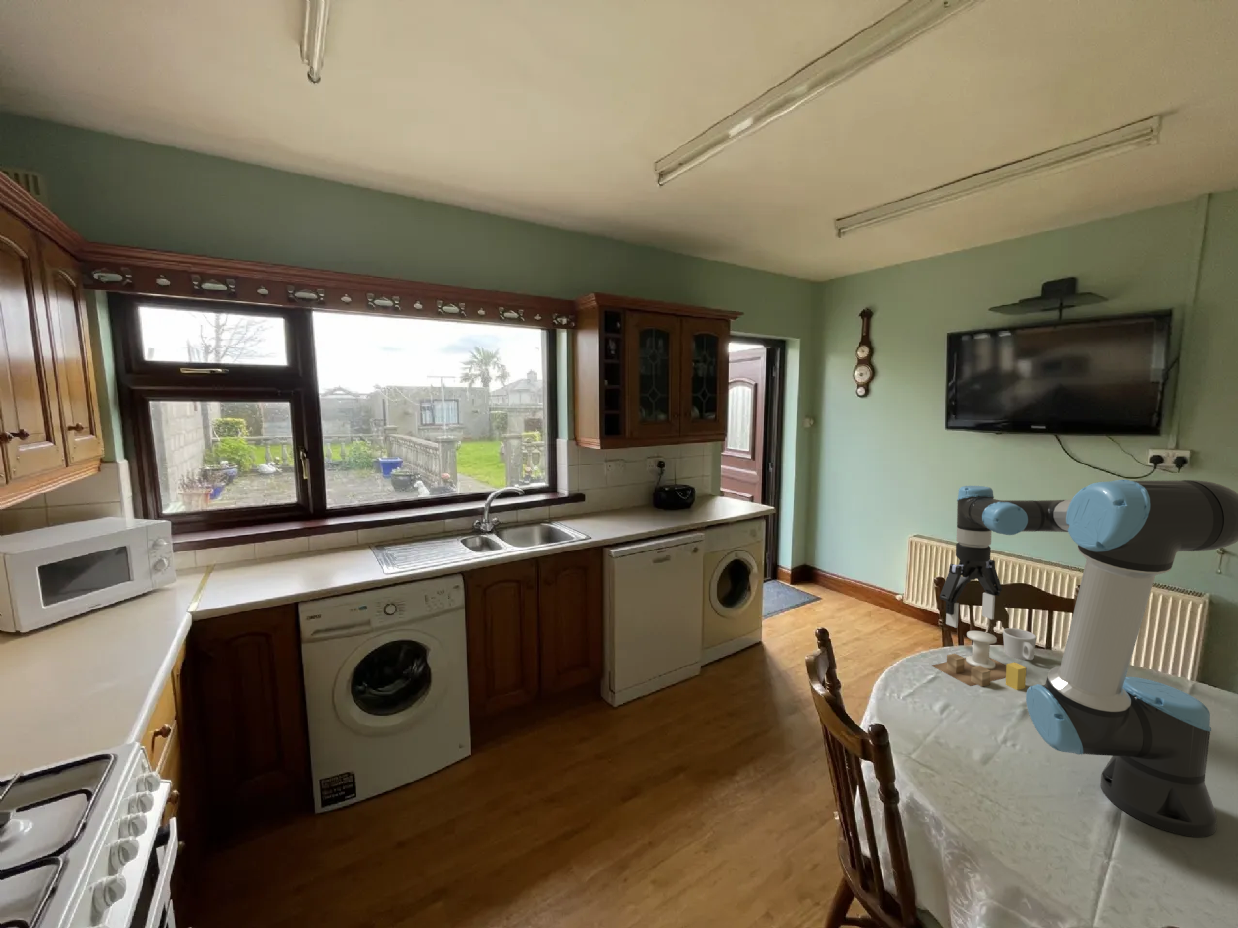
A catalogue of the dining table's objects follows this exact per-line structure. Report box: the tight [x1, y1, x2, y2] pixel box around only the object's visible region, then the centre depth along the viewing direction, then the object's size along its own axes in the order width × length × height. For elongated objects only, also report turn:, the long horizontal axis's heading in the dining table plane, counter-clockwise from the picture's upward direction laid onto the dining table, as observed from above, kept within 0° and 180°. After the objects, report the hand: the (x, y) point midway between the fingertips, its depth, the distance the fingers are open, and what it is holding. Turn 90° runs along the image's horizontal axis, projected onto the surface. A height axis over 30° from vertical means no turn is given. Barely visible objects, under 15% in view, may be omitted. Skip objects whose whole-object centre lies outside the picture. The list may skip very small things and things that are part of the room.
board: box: [931, 653, 1007, 688], centre depth 145 cm, size 13×20×5 cm, turn 107°
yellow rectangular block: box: [1005, 662, 1027, 691], centre depth 136 cm, size 3×3×7 cm
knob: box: [965, 630, 997, 670], centre depth 148 cm, size 7×7×9 cm
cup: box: [1002, 627, 1037, 661], centre depth 151 cm, size 11×8×8 cm
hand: (970, 621), depth 136 cm, fingers open, 13 cm apart
